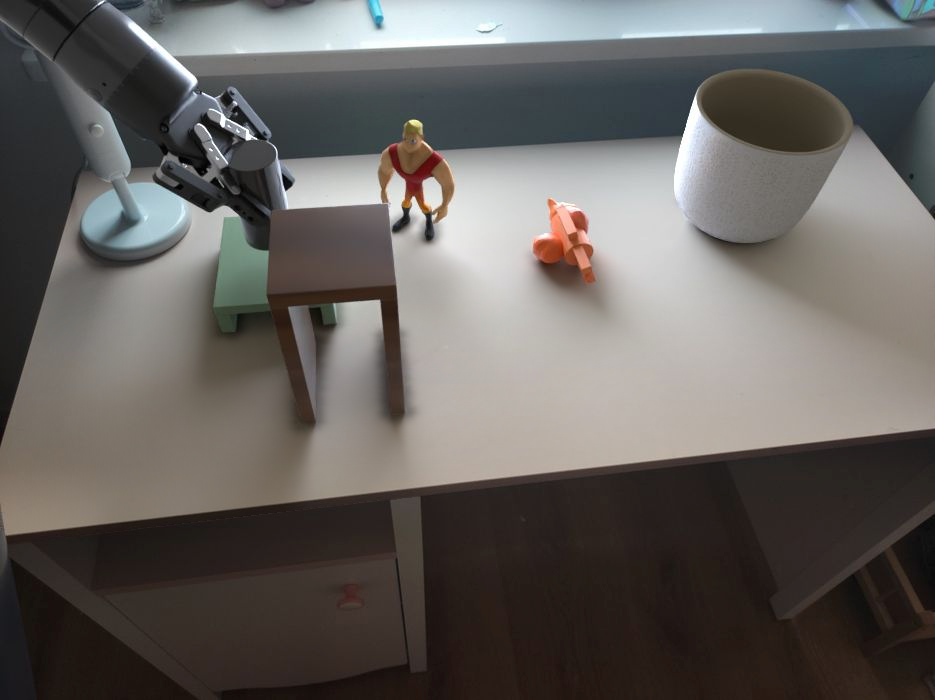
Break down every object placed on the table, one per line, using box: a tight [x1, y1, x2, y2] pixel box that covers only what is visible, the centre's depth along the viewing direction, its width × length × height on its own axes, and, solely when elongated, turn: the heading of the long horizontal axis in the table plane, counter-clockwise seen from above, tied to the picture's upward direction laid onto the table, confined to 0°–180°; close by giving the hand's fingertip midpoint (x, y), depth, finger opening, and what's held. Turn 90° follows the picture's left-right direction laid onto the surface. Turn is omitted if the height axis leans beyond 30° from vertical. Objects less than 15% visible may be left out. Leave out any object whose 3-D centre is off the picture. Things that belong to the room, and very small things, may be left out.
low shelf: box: [212, 215, 338, 334], centre depth 78 cm, size 14×12×4 cm
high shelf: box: [266, 202, 406, 424], centre depth 64 cm, size 10×10×18 cm
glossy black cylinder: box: [223, 139, 290, 251], centre depth 70 cm, size 5×5×10 cm
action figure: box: [377, 119, 456, 240], centre depth 80 cm, size 10×4×15 cm, turn 70°
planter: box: [673, 68, 854, 244], centre depth 83 cm, size 17×17×15 cm
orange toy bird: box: [532, 197, 597, 285], centre depth 82 cm, size 5×8×12 cm
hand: (278, 203), depth 70 cm, fingers closed on glossy black cylinder, 5 cm apart
